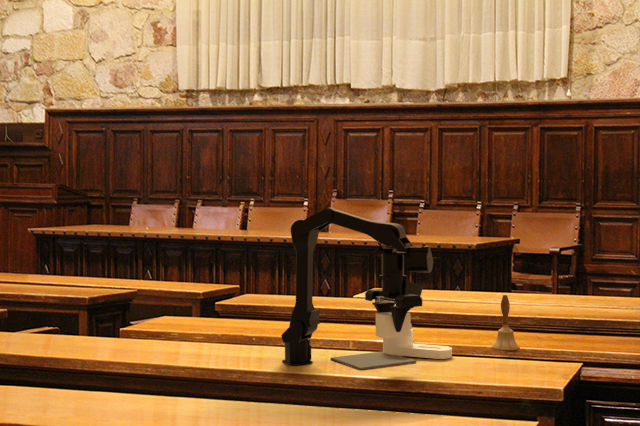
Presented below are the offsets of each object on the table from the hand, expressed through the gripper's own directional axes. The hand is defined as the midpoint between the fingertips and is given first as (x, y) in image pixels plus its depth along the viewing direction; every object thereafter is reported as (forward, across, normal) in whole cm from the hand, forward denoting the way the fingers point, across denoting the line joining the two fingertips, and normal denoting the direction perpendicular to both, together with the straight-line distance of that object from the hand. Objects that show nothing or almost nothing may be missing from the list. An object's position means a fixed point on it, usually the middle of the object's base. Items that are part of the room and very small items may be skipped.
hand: (393, 330), depth 214 cm
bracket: (+10, +13, -17) cm, 24 cm away
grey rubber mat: (+11, +13, -2) cm, 17 cm away
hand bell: (+11, +9, -47) cm, 49 cm away
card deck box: (+1, 0, 0) cm, 1 cm away
